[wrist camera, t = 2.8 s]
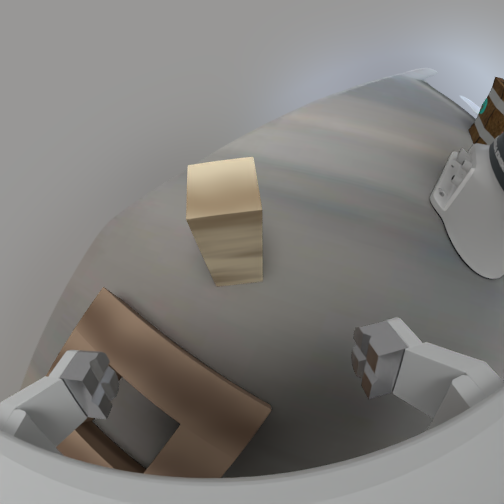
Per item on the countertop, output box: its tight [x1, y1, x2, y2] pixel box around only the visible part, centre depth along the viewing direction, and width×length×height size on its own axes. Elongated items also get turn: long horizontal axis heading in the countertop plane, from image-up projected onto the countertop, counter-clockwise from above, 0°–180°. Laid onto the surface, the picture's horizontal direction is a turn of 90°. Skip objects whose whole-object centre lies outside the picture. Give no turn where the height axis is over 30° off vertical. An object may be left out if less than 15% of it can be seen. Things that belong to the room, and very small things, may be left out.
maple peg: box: [186, 157, 263, 287], centre depth 22 cm, size 4×4×12 cm
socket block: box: [46, 287, 272, 478], centre depth 19 cm, size 18×18×4 cm
